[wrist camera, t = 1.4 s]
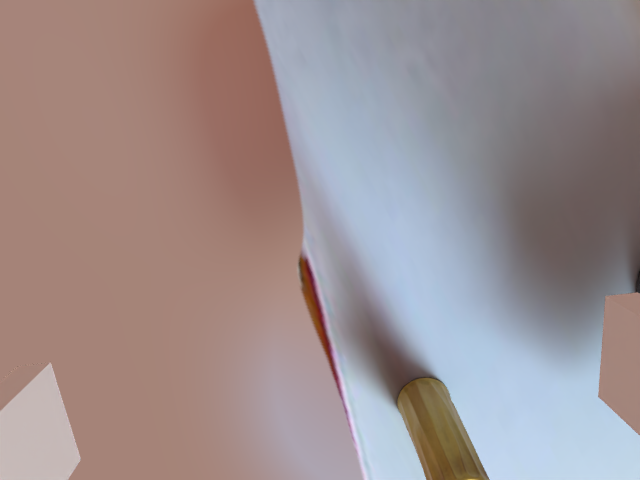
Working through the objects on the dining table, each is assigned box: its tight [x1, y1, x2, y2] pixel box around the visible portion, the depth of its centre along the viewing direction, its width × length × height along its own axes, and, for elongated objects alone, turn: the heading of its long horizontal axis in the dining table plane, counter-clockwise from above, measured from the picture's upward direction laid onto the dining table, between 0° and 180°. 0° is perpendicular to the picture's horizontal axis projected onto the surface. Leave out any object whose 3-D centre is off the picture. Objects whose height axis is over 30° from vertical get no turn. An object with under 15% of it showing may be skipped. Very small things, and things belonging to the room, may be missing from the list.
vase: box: [397, 378, 490, 480], centre depth 44 cm, size 6×6×14 cm
